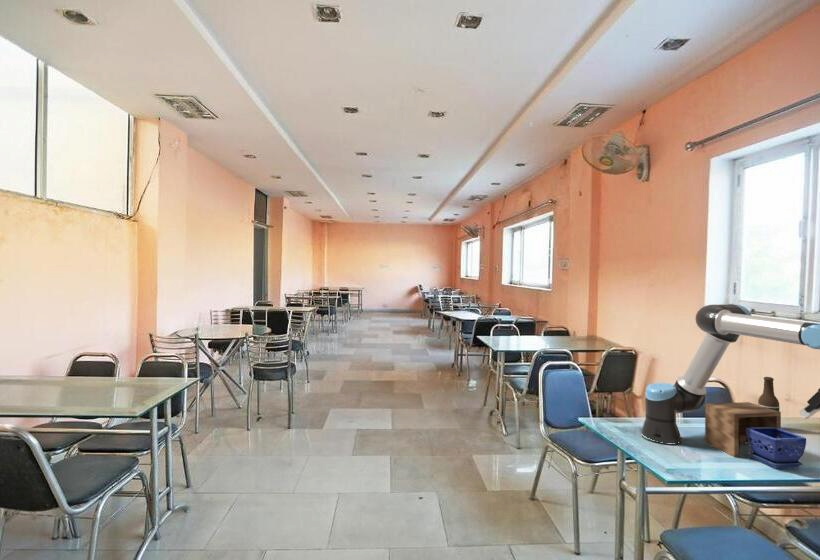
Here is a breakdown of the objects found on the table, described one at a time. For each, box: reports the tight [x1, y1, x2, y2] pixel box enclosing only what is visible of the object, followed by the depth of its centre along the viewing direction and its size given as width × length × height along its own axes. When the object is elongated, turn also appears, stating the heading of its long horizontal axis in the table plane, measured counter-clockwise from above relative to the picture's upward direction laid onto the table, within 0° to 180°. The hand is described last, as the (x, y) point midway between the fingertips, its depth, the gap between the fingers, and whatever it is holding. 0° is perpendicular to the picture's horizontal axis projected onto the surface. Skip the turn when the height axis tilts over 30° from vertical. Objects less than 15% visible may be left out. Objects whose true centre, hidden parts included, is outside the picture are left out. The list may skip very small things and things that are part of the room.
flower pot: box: [746, 427, 807, 469], centre depth 162 cm, size 13×13×12 cm
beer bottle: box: [757, 376, 780, 412], centre depth 201 cm, size 8×8×24 cm
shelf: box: [704, 401, 782, 458], centre depth 176 cm, size 14×21×17 cm
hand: (802, 415), depth 152 cm, fingers closed
